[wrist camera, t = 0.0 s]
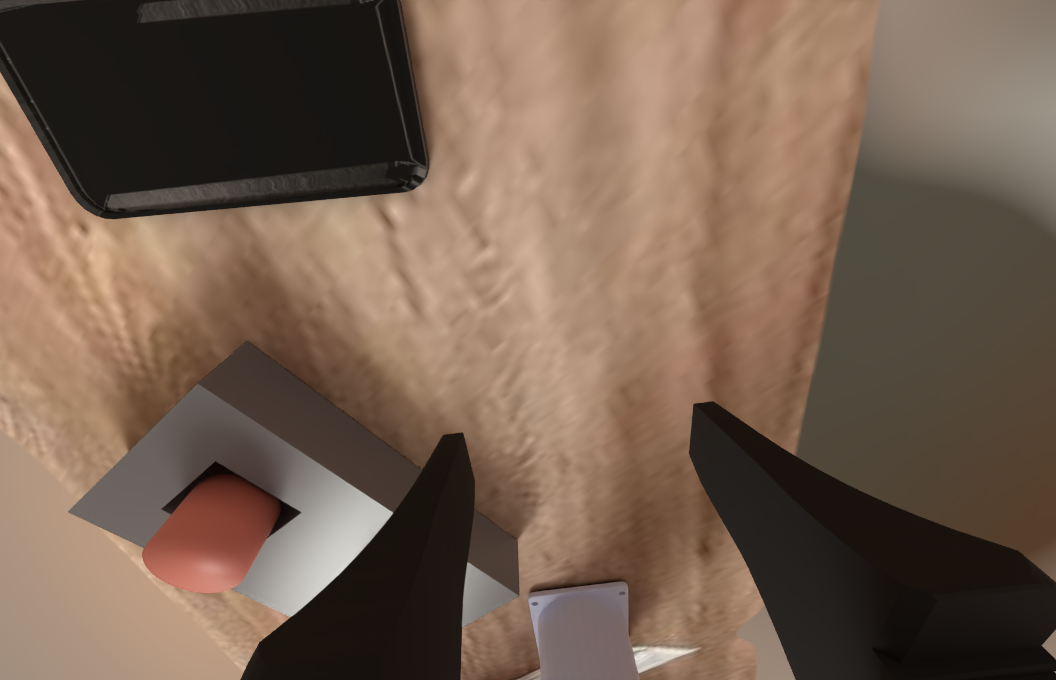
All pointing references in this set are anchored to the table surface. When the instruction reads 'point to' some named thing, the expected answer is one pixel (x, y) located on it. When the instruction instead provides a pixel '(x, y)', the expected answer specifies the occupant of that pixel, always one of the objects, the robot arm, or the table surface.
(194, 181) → the phone
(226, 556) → the red button
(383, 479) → the button panel
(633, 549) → the table surface
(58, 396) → the table surface
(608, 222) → the table surface
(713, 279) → the table surface
